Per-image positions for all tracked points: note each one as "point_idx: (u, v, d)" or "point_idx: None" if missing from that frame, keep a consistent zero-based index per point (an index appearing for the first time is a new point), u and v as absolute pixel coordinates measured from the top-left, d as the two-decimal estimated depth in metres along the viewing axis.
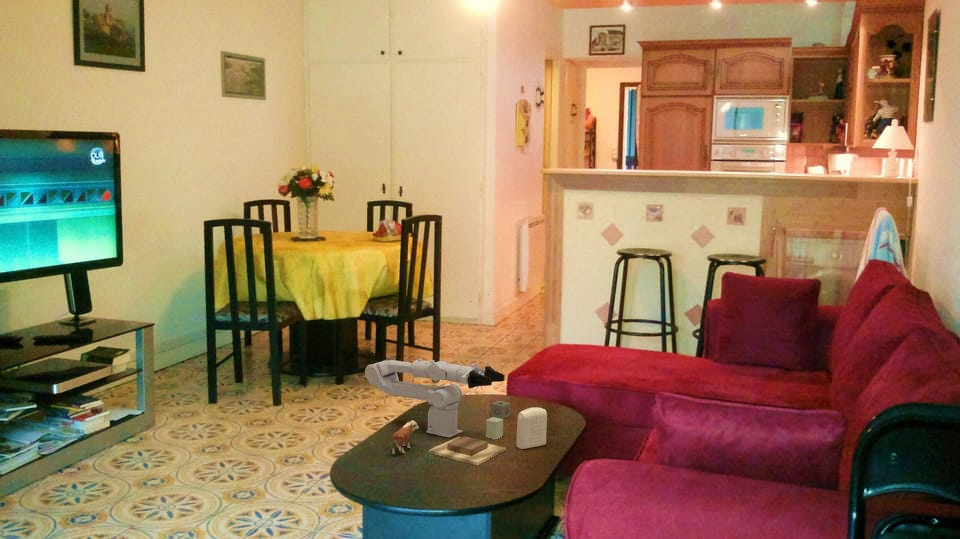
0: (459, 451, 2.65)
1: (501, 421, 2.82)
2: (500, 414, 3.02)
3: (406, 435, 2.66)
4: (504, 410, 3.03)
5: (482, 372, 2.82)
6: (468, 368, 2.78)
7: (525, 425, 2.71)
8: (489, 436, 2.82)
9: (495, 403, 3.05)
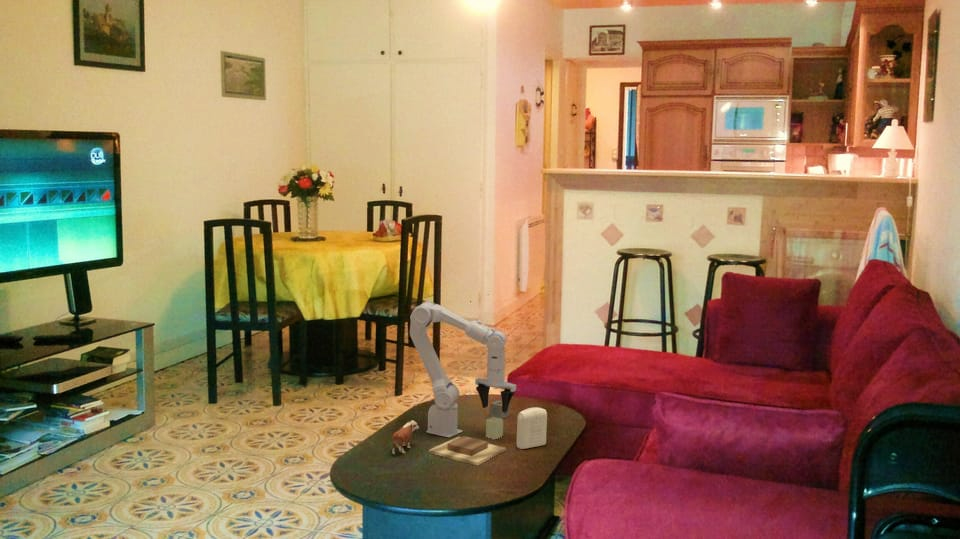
0: (459, 451, 2.65)
1: (501, 421, 2.82)
2: (499, 413, 3.03)
3: (406, 435, 2.66)
4: None
5: None
6: None
7: (525, 425, 2.71)
8: (489, 436, 2.82)
9: (494, 403, 3.05)
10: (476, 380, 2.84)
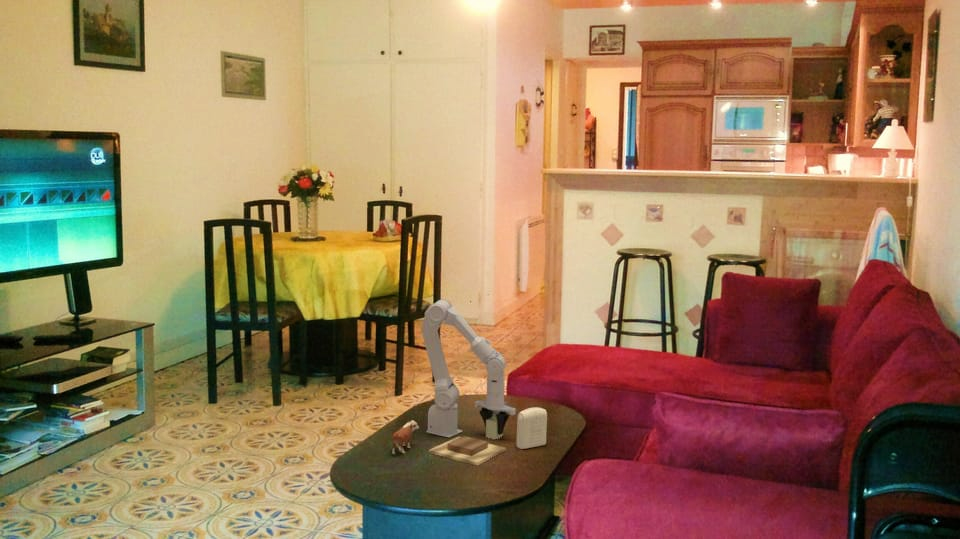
0: (459, 451, 2.65)
1: None
2: None
3: (406, 435, 2.66)
4: None
5: None
6: None
7: (525, 425, 2.71)
8: (489, 436, 2.82)
9: None
10: (475, 404, 2.85)
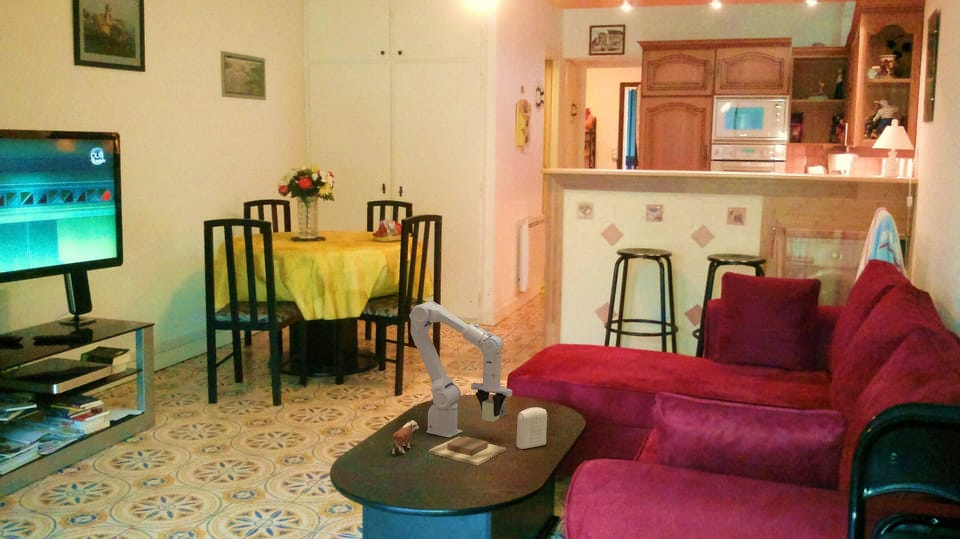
0: (459, 451, 2.65)
1: None
2: None
3: (406, 435, 2.66)
4: None
5: None
6: None
7: (525, 425, 2.71)
8: (485, 418, 2.79)
9: None
10: (471, 385, 2.82)
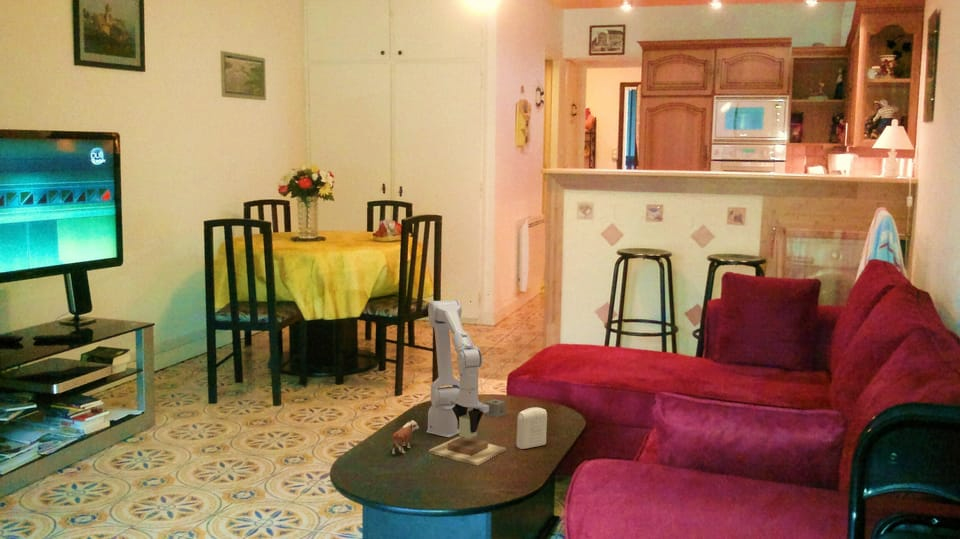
0: (459, 451, 2.65)
1: None
2: (495, 412, 3.04)
3: (406, 435, 2.66)
4: (499, 408, 3.04)
5: None
6: None
7: (525, 425, 2.71)
8: (462, 434, 2.67)
9: (490, 402, 3.06)
10: (449, 400, 2.70)
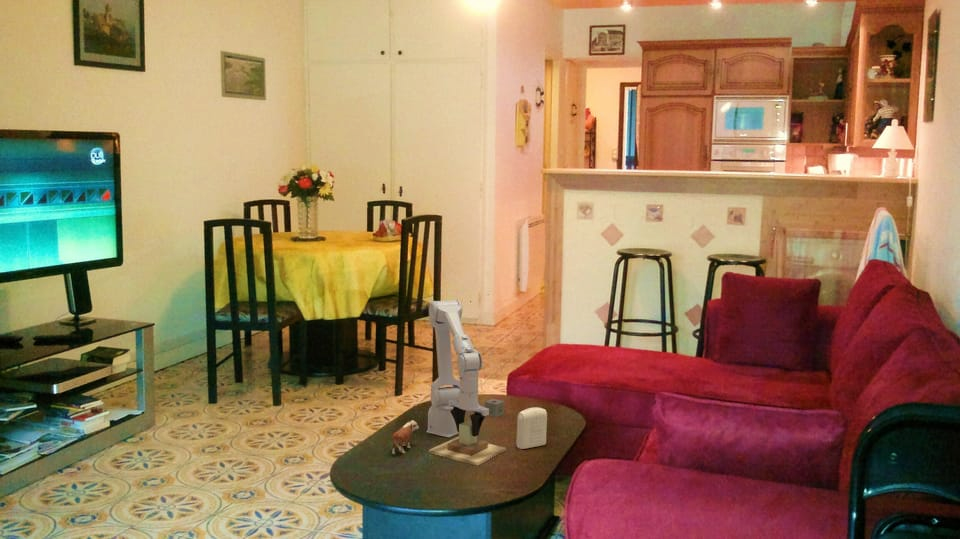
0: (459, 451, 2.65)
1: None
2: (494, 412, 3.04)
3: (406, 435, 2.66)
4: (498, 408, 3.05)
5: None
6: None
7: (525, 425, 2.71)
8: (462, 441, 2.67)
9: (489, 401, 3.07)
10: (449, 403, 2.70)
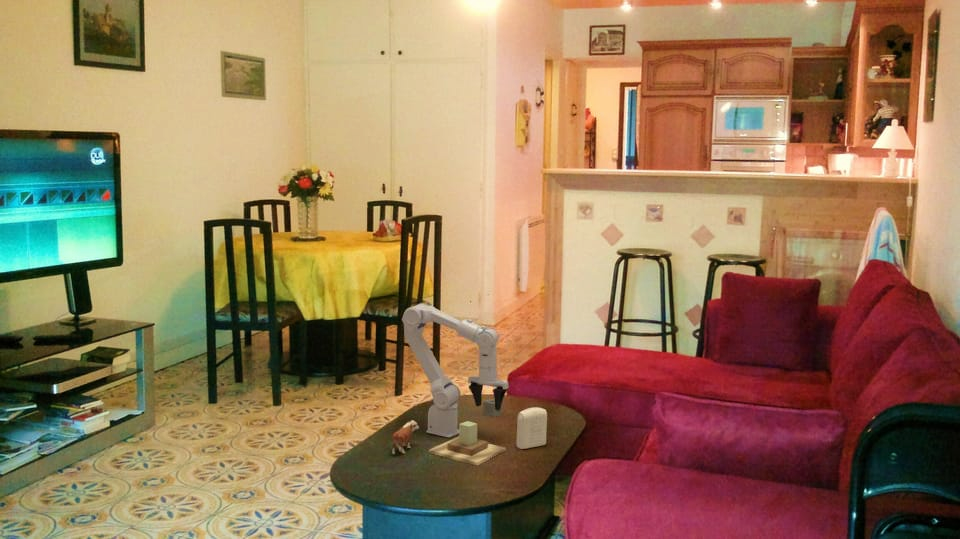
0: (459, 451, 2.65)
1: (475, 426, 2.67)
2: (492, 411, 3.05)
3: (406, 435, 2.66)
4: None
5: None
6: None
7: (525, 425, 2.71)
8: (462, 441, 2.67)
9: (487, 401, 3.07)
10: (468, 379, 2.83)
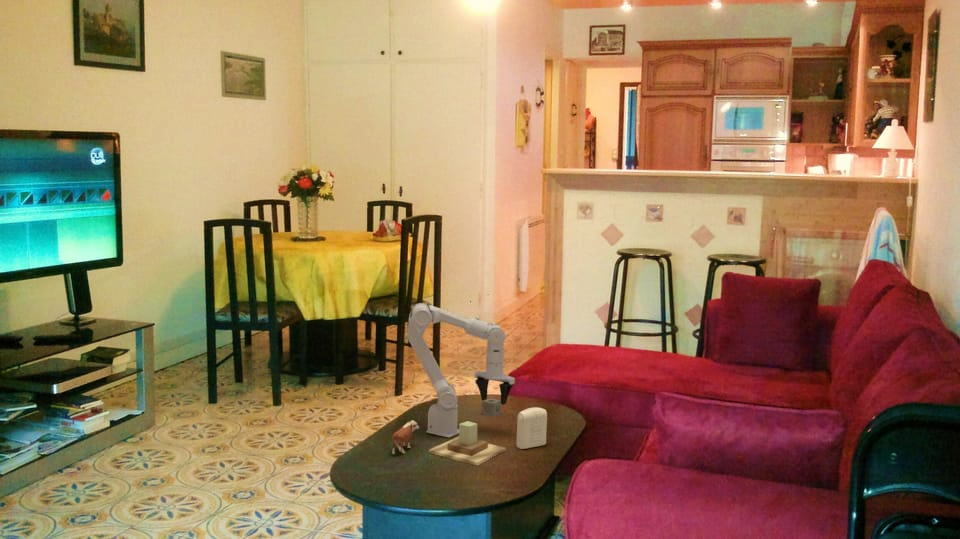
0: (459, 451, 2.65)
1: (475, 426, 2.67)
2: (491, 411, 3.05)
3: (406, 435, 2.66)
4: (495, 407, 3.06)
5: None
6: None
7: (525, 425, 2.71)
8: (462, 441, 2.67)
9: (486, 400, 3.08)
10: (475, 374, 2.89)
